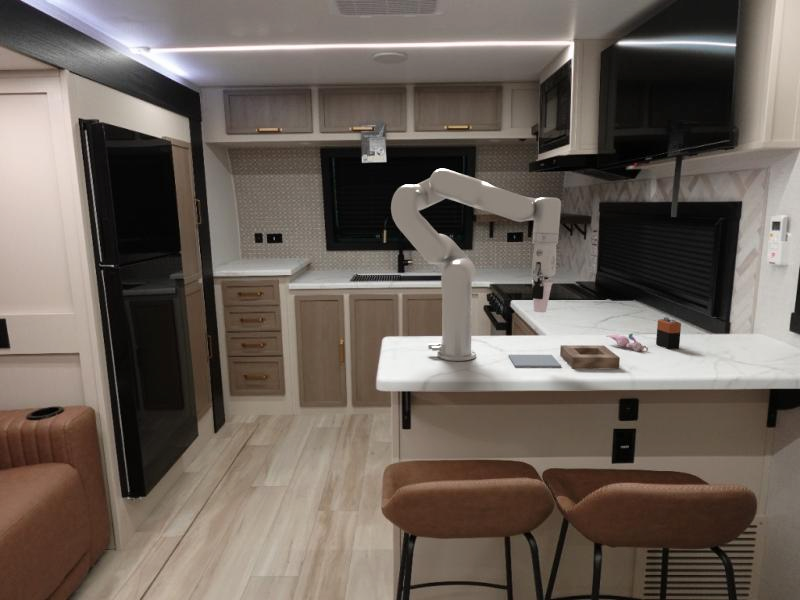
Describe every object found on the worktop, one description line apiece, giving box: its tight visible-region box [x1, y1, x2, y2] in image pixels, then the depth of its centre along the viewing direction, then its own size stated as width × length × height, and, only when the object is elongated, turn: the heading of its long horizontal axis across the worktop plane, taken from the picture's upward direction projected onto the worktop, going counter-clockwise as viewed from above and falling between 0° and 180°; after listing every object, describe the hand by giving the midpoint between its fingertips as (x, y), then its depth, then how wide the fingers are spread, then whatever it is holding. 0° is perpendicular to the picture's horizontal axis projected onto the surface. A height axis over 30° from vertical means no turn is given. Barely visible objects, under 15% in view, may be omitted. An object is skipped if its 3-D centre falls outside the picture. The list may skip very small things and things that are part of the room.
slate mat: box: [508, 354, 562, 368], centre depth 167 cm, size 14×12×1 cm
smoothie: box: [531, 278, 554, 313], centre depth 163 cm, size 6×6×14 cm
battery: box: [655, 316, 682, 350], centre depth 183 cm, size 4×7×10 cm, turn 13°
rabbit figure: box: [605, 333, 649, 353], centre depth 182 cm, size 6×6×15 cm
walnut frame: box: [559, 344, 621, 370], centre depth 166 cm, size 14×14×4 cm
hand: (540, 296), depth 164 cm, fingers closed on smoothie, 6 cm apart
